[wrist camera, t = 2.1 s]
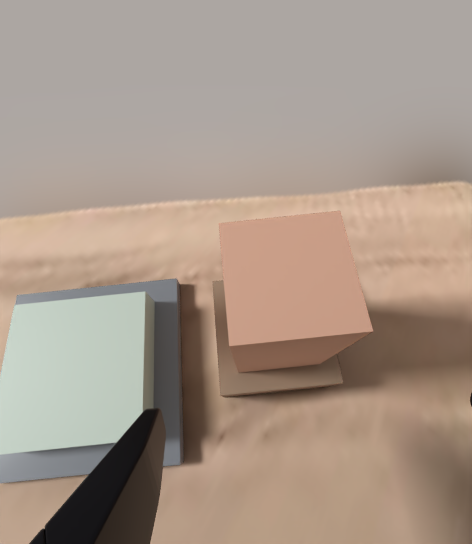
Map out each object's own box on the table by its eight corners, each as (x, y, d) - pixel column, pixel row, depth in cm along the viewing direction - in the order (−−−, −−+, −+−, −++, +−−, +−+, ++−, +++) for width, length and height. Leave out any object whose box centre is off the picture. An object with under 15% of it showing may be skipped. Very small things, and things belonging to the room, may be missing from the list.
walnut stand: (329, 386, 19) (343, 382, 16) (224, 397, 19) (220, 395, 16) (309, 287, 22) (318, 270, 19) (217, 297, 22) (212, 281, 19)
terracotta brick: (319, 364, 17) (373, 331, 9) (238, 372, 17) (229, 345, 9) (304, 288, 19) (340, 210, 11) (231, 295, 19) (218, 223, 11)
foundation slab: (153, 436, 18) (141, 439, 16) (11, 451, 18) (-16, 456, 16) (154, 301, 21) (145, 291, 19) (35, 314, 21) (14, 304, 19)
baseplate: (183, 461, 18) (180, 464, 17) (-7, 481, 18) (-21, 485, 17) (179, 283, 22) (176, 278, 21) (26, 299, 22) (16, 295, 21)
